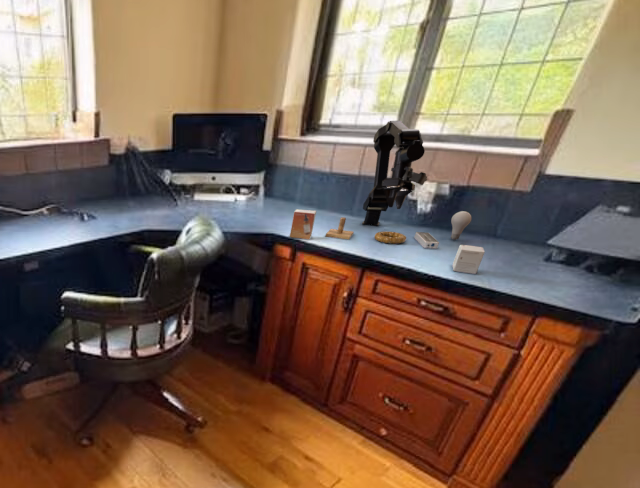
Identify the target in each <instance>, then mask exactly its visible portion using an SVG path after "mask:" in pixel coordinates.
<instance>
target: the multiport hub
mask: <svg viewBox="0 0 640 488" xmlns="http://www.w3.org/2000/svg"><path fill="white" fill-rule="evenodd" d="M413 238H414V239H415V240H416V241H417V243H418V244H419V245H420V246H421V247H422V248H423V249H433V250H437V249H438V247H439V245H440V242H439V241H438V240H437V239H436V238H435V237H434V236H433V235H432V234H430V232H424V231H423V232H422V231H416V232H415V234H414V237H413Z"/></svg>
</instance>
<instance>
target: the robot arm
mask: <svg viewBox="0 0 640 488" xmlns="http://www.w3.org/2000/svg"><path fill="white" fill-rule="evenodd" d="M423 144H424V140H423V138H422V133H421V130H420V129H418V128H409V127H408V126H407V125H405V124H404V123H403V121H402V120H389V121H387V122H386V124H385V125H383V126H381V127H379V128H378V129H377V131H376V132H375V134H374V137H373V149H374V151H375V152H376V154H377V155H376V162H375V163H376V164H375V172H374V179H373V187H372V189H371V190H370V192H369V193H368V195H367V197H366V199H365V200H364V202H363V205H362V210H364V211H365V215H364V220H363V221H362V223H361V225H362V226H372V227H379V225H380V224H381V222H380V218H381V214H382V212H387V211H388V208H393V207H394V205H396V206H395V207H396V209H397V210H400V209H401V208H402V206H403V204H404V202H405V200H406V198H407V196H408V195H410V194H411V193H413V192H414V191H415V189H416V184H419V185H422V186H424V184H425V182H426V181H428V176H427V172H423V171H420V172H419V173H418V172H414V169H413V167H412V164H413V162H416V161H418V160H420V159H422V158H423V156H424V155H425V152H426V149H425V147H424V145H423ZM395 146H396V148H398V149H397V150H396V151H395V152H394V155H395V157H394V162H393V167H391V169H390V171H391V172H392V173H391V177H389V178H388V173H389V164H390V156H391V151H392V149H393V148H394V147H395Z"/></svg>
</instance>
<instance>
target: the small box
mask: <svg viewBox="0 0 640 488" xmlns="http://www.w3.org/2000/svg"><path fill="white" fill-rule="evenodd" d="M316 216H317V210H309V209H308V210H307V209H298V208H296V209H295V210H294V212H293V216H292V222H291V227H290V233H289V238H295V239H303V240H310V239H311V237H312V235H313V230H314V225H315V220H316Z"/></svg>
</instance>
